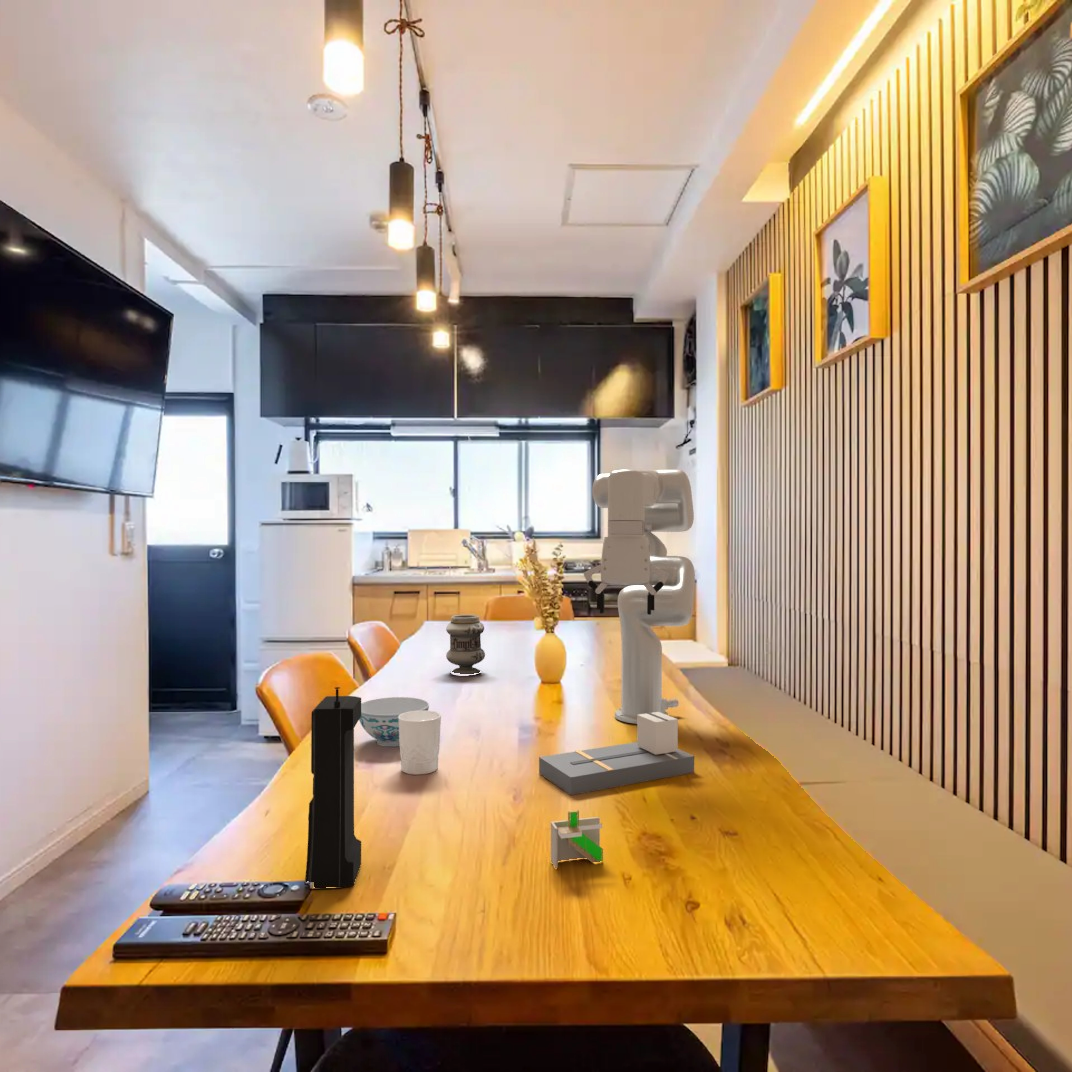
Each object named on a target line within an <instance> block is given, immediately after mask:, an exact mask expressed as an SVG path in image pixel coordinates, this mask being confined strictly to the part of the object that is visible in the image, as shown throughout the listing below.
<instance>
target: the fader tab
mask: <svg viewBox="0 0 1072 1072" xmlns="http://www.w3.org/2000/svg"><path fill="white" fill-rule="evenodd" d="M678 721H679V720H678V718H677V717H673V716H670V715H669V714H668V715H666V714H663V713H661V712H654V713H646V714H639V715H637V724H636V726H637V727H636V730H637V731H636V733H637V735H636V742H637V746H638V747H641V748H643V749H645V750H647V751H649V752H651V753H653V754H655V755H657V754H663V753H669V752H675V751H678V749H679V748H678V747H679V746H678V745H679V744H678V742H679V741H678V737H679V736H678V734H679V733H678V732H679V728H678V727H679V726H678V725H679V722H678Z"/></svg>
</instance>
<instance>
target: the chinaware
mask: <svg viewBox="0 0 1072 1072" xmlns="http://www.w3.org/2000/svg"><path fill="white" fill-rule="evenodd" d="M429 709H430V703H429V702H428V701H427V700H425V699H422V698H416V697H408V696H407V697H405V696H395V697H394V696H393V697H379V698H375V699H371V700H366V701H364V702H361V717H360V719H359V721H358V722H359V723H360V725H361V726H362V728H363V730H364V731H365V732H366V733H367V734H368V735H369V736H370V737H372V738H373V739H375V740H376V743H377V745H378V746H381V747H382V746H383V747H387V746H393V747H400V745H399V723H398V716H399V715H400V714H402V713H406V712H410V711H429Z"/></svg>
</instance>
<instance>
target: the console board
mask: <svg viewBox="0 0 1072 1072" xmlns="http://www.w3.org/2000/svg"><path fill="white" fill-rule="evenodd" d="M538 766H539V767H538V774H539V775H541V776H542V777H544V778H545V779H547V780H550V781H549V782H551V783H552V782H553V784H554V785H555V786H557V787H558V788H559V789H561V790H562V791H564V792H565V793H567V794H568V795H570V796H573V795H579V793H580V794H585V793H589V792H590V793H591V792H595V791H601V790H605V789H606V790H607V789H611V788H616V787H622V786H628V785H633V784H639V783H643V782H648V781H654V780H660V779H665V778H670V777H676V776H681V775H687V774H692V773H695V756H694V755H693V754H691V753H689V752H686V751H684V750H681V749H680V748H678V751H675V752H669V753H663V754H657V755H655V754H653V753H651V752H649V751H647V750H645V749H643V748H641V747H638V746H637V741H634V742H629V743H622V744H615V745H609V746H603V747H597V748H596V747H595V748H589V749H583V750H574V751H569V752H563V753H557V754H551V755H544V756H539V757H538Z"/></svg>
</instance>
